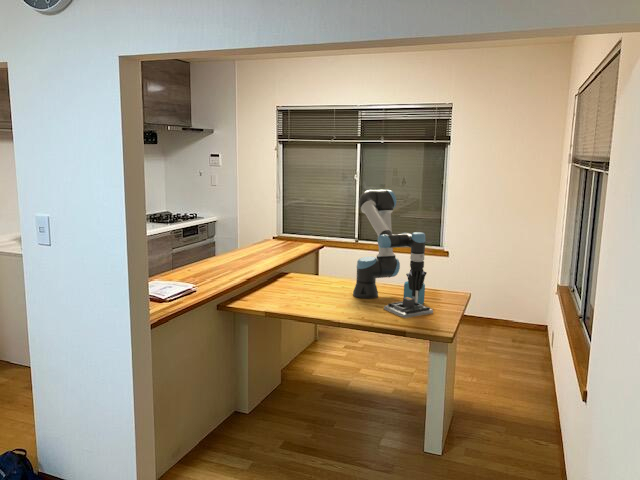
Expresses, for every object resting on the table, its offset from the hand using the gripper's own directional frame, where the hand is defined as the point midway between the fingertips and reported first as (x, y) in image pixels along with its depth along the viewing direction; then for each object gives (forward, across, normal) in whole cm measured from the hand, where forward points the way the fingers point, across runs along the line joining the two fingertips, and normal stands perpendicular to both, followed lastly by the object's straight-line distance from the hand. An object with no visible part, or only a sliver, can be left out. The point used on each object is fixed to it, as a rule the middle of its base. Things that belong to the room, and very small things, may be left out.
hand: (415, 301), depth 298 cm
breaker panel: (+5, -5, 0) cm, 7 cm away
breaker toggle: (+3, -5, 0) cm, 5 cm away
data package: (+5, +10, +12) cm, 16 cm away
